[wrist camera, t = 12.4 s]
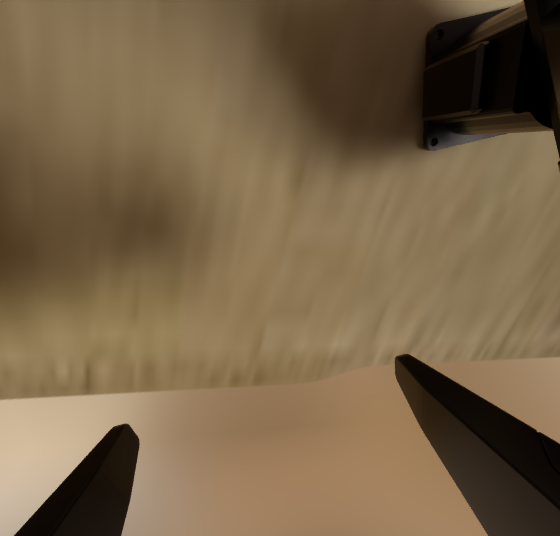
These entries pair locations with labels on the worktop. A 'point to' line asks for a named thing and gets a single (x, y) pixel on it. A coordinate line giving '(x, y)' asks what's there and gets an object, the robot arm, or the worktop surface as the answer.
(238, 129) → the worktop surface
